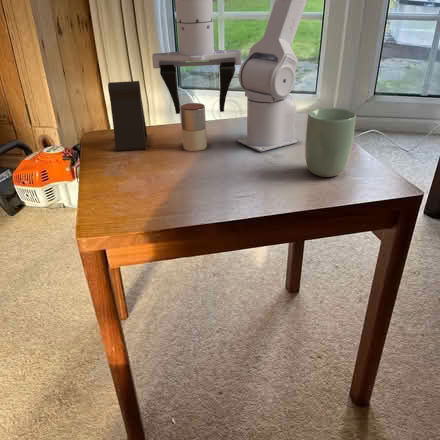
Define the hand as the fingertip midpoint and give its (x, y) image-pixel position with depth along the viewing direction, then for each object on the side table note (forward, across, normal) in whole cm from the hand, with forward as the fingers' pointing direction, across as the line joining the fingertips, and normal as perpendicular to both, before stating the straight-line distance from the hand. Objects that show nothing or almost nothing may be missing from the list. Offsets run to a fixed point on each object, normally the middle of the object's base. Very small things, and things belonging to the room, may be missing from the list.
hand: (199, 111), depth 79 cm
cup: (+10, +22, -7) cm, 25 cm away
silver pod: (+5, -1, +10) cm, 11 cm away
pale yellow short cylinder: (+9, -2, +10) cm, 13 cm away
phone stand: (+10, -15, +13) cm, 22 cm away
